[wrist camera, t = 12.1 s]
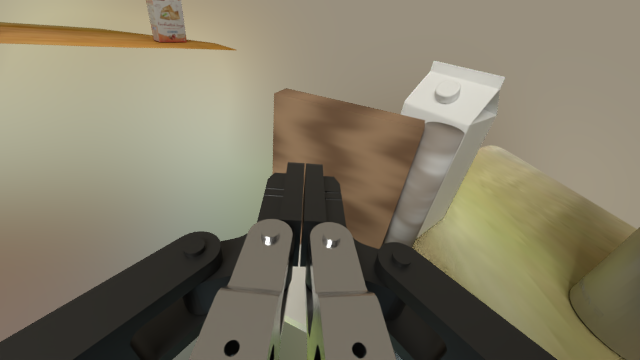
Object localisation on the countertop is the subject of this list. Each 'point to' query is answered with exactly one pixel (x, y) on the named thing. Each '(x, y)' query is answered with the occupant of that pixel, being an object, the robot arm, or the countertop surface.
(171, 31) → the cracker box
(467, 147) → the milk carton
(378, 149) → the brown wooden slab
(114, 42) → the countertop surface
